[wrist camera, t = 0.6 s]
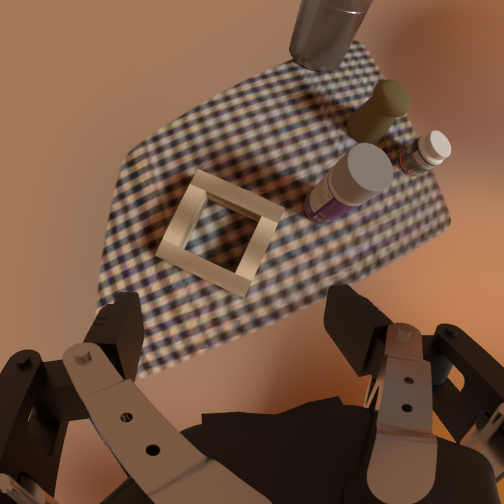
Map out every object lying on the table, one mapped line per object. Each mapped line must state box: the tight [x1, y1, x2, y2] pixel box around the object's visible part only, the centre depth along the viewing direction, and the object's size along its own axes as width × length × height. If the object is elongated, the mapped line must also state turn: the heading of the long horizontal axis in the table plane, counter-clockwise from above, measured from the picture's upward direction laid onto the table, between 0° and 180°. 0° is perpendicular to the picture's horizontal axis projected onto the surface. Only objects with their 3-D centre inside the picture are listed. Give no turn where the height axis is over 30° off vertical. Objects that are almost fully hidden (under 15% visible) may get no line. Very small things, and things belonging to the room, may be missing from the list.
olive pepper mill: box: [347, 80, 411, 145], centre depth 33 cm, size 6×6×11 cm
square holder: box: [155, 169, 285, 298], centre depth 33 cm, size 11×11×4 cm
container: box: [304, 143, 393, 224], centre depth 29 cm, size 5×5×15 cm
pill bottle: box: [399, 131, 451, 176], centre depth 34 cm, size 5×5×8 cm
